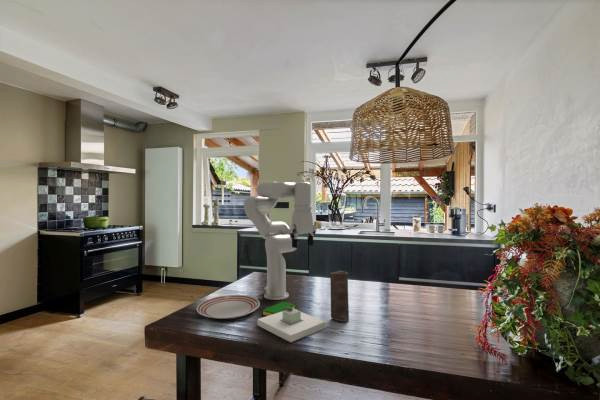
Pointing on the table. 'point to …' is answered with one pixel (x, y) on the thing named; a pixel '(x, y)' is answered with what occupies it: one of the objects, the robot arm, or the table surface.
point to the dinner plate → (228, 306)
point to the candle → (339, 296)
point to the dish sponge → (277, 308)
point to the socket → (294, 331)
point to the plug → (291, 316)
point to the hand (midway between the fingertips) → (302, 246)
